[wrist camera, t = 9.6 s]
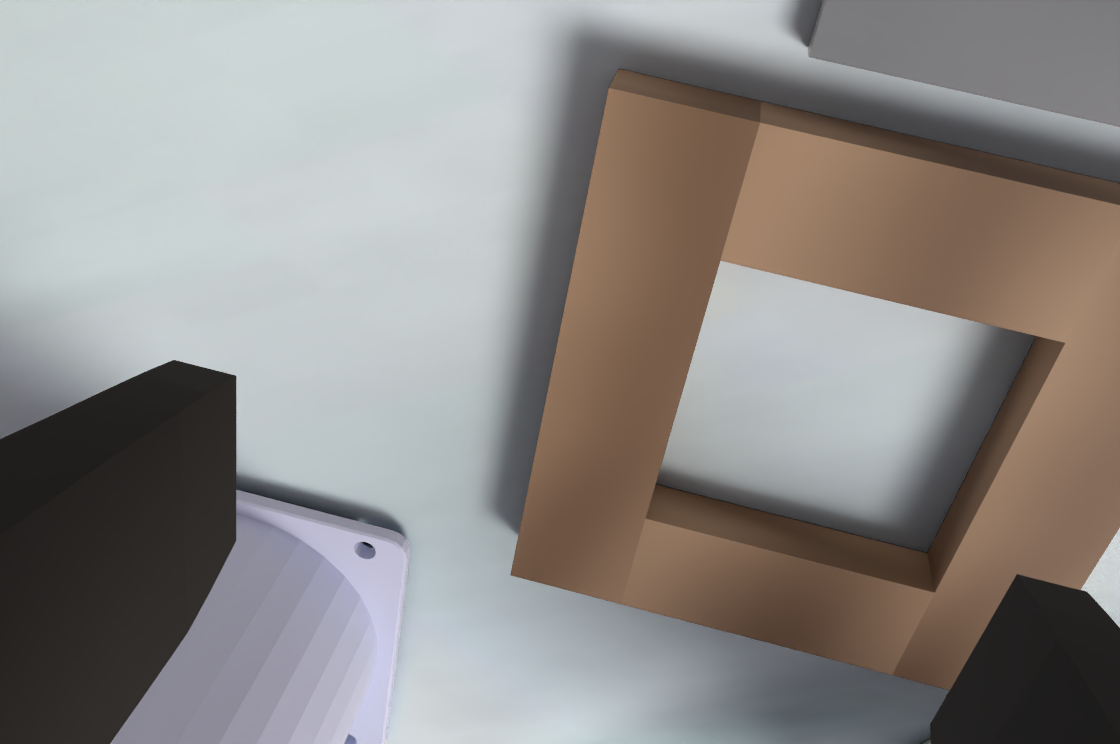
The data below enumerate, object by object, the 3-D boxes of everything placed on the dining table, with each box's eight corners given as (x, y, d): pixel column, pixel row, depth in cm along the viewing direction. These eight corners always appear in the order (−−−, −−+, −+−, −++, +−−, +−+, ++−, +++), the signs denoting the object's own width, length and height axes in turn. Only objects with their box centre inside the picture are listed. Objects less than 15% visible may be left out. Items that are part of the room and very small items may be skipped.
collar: (522, 540, 23) (510, 575, 22) (618, 68, 17) (608, 88, 16) (997, 663, 23) (1007, 705, 22) (1265, 216, 17) (1296, 246, 16)
